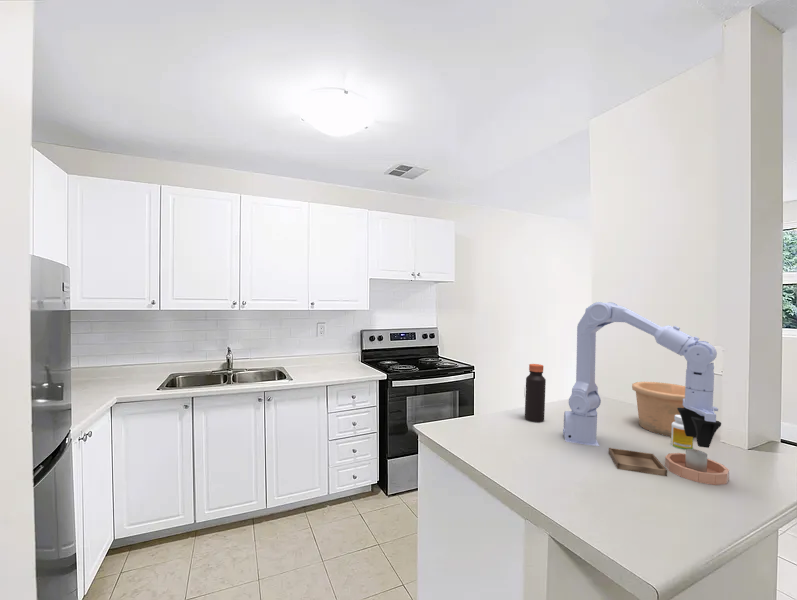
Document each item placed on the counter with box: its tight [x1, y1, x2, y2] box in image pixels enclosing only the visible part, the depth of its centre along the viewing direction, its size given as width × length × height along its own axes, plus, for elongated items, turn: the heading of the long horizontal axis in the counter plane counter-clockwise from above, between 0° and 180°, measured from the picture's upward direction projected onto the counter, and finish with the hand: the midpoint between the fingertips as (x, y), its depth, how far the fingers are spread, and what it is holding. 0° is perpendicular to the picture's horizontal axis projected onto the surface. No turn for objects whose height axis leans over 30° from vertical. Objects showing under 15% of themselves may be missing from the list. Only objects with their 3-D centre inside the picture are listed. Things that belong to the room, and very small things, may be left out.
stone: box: [685, 448, 708, 472], centre depth 99 cm, size 4×4×5 cm
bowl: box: [664, 452, 730, 486], centre depth 99 cm, size 13×13×3 cm
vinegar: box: [524, 363, 547, 423], centre depth 140 cm, size 7×7×20 cm
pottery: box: [631, 381, 685, 437], centre depth 134 cm, size 22×22×14 cm
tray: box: [608, 447, 668, 477], centre depth 103 cm, size 11×11×2 cm
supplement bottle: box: [670, 415, 694, 451], centre depth 117 cm, size 5×5×10 cm
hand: (696, 441), depth 99 cm, fingers open, 7 cm apart
